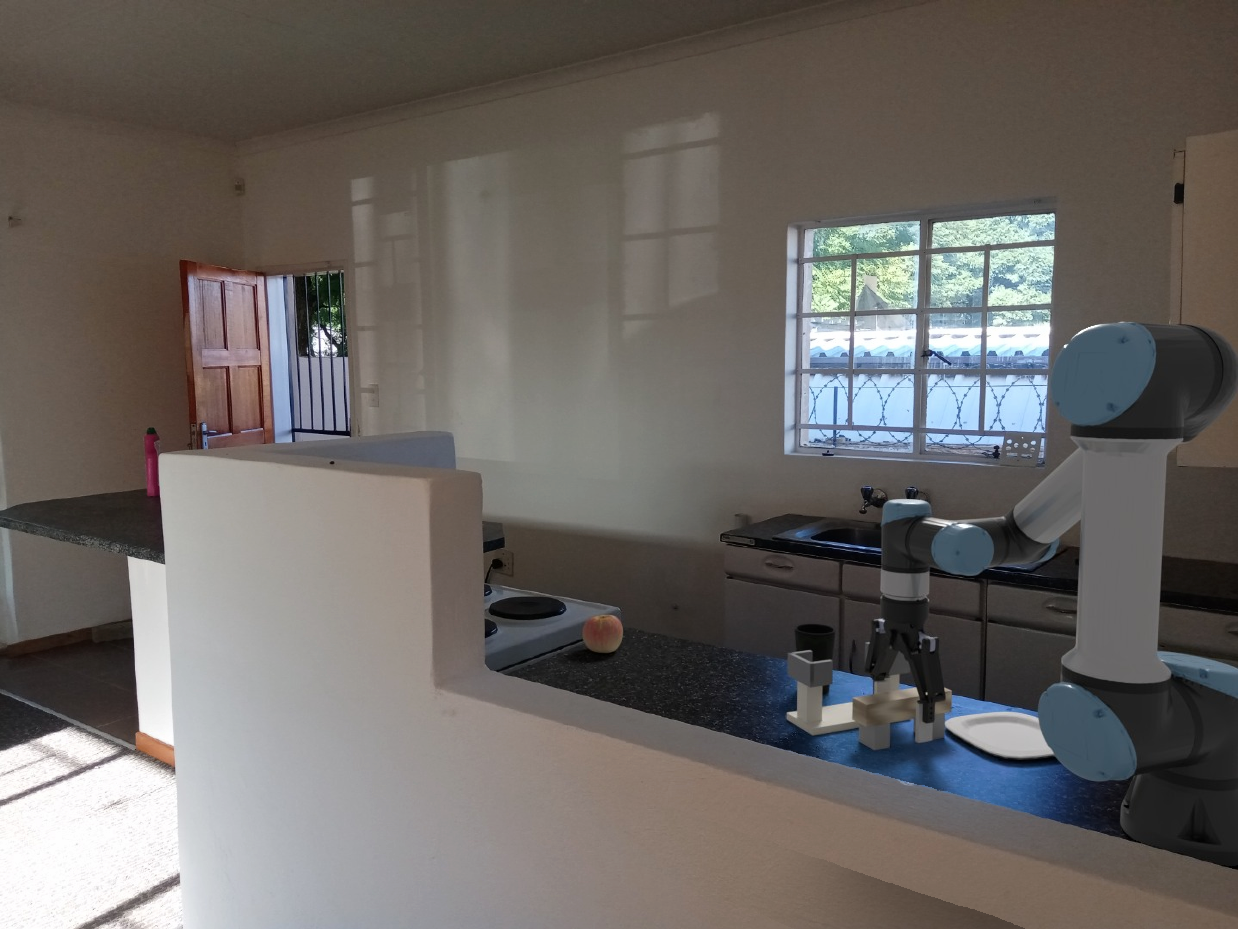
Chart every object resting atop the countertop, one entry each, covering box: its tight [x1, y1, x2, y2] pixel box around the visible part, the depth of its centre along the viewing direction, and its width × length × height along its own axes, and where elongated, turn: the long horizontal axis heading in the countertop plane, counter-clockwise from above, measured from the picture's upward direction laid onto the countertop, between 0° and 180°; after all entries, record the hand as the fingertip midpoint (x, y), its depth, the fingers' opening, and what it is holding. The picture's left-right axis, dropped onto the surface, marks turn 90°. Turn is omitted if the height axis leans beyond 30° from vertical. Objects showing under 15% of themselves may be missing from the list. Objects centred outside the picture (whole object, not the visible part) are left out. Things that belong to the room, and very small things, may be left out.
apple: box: [582, 614, 624, 654], centre depth 198 cm, size 9×9×8 cm
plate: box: [945, 711, 1056, 761], centre depth 147 cm, size 18×18×2 cm
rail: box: [852, 687, 953, 727], centre depth 147 cm, size 17×4×4 cm, turn 112°
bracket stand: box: [786, 641, 911, 736], centre depth 156 cm, size 8×21×12 cm, turn 112°
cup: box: [793, 623, 837, 696], centre depth 171 cm, size 8×8×12 cm
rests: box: [858, 713, 946, 751], centre depth 148 cm, size 4×14×4 cm, turn 112°
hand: (902, 729), depth 148 cm, fingers open, 10 cm apart
